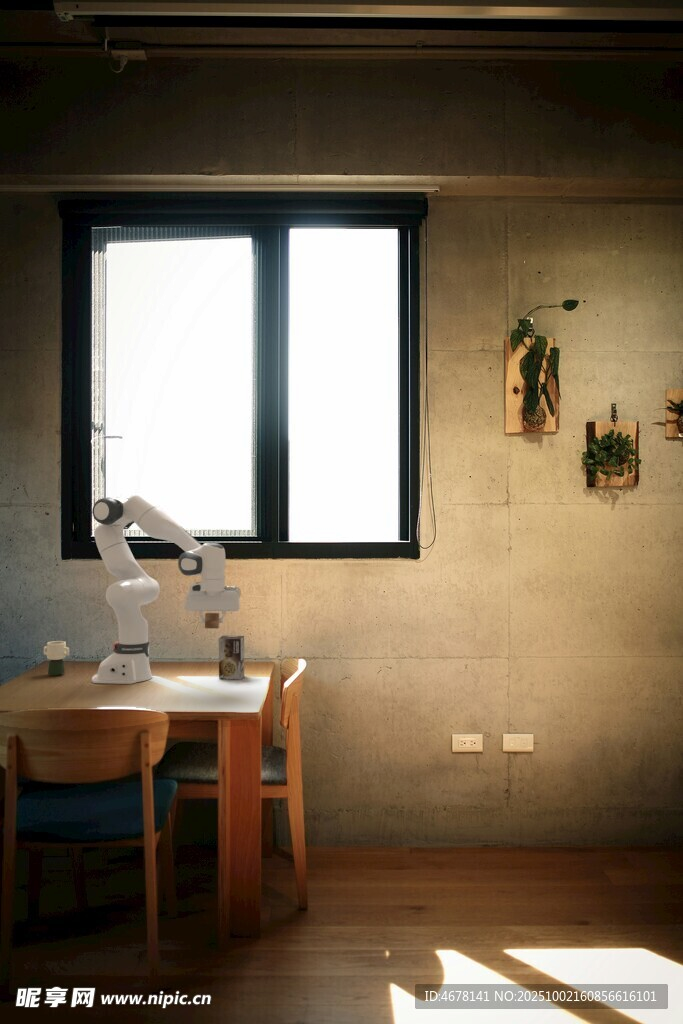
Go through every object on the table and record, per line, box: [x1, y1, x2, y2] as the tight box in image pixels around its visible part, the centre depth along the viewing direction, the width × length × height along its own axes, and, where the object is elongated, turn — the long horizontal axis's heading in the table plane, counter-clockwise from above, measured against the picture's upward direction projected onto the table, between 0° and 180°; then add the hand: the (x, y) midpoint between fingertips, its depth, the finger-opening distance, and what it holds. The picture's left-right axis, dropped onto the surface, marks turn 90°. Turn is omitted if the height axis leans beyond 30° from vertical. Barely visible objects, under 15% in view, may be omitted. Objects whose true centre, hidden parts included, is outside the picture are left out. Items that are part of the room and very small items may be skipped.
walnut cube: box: [204, 612, 220, 629], centre depth 284 cm, size 5×5×5 cm
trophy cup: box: [43, 640, 70, 676], centre depth 300 cm, size 11×7×13 cm, turn 80°
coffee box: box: [218, 635, 245, 680], centre depth 298 cm, size 9×6×16 cm
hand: (212, 622), depth 284 cm, fingers closed on walnut cube, 5 cm apart
